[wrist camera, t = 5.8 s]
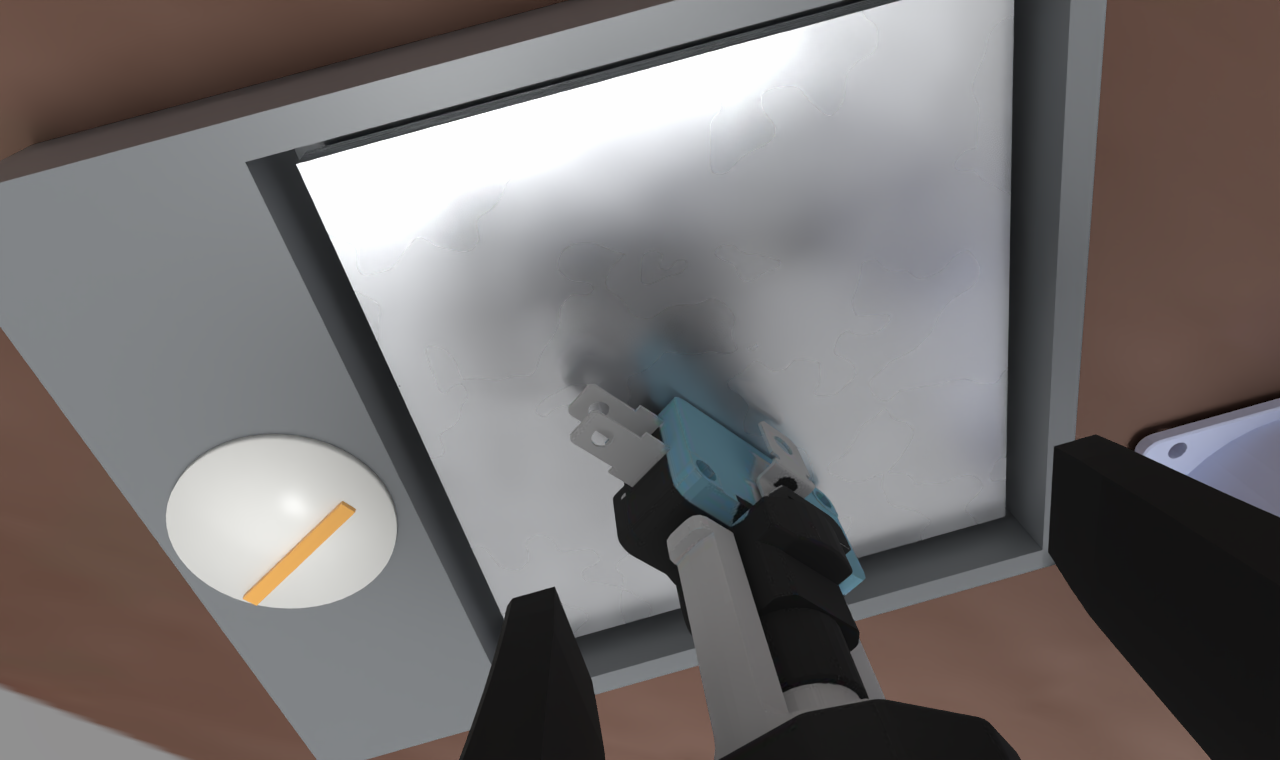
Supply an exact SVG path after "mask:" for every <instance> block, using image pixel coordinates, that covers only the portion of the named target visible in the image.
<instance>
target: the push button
mask: <svg viewBox="0 0 1280 760" xmlns="http://www.w3.org/2000/svg"><path fill="white" fill-rule="evenodd" d="M595 402H603V403H606V404H607V405H608V406H609V412H608V413H607V415H605V414H603V413H601V412H600V411H598V410H596V411H591V412H590V413H589V412H588V410H589V407H590V406H591V405H592V404H593V403H595ZM568 411H569V414H570V415H571V416H573V417H574V418H576V419H578V420H579V421H581V423H580V424H579V425H578V426H577V427H576V428H575V429H574V430H573V431H572V433H571V434H570V439H571V442H572V443H573V444H575V445H577V446H578V447H580V448H582V449H583V450H585V451H587V452H588V453H590V454H592V455H593V456H595V457H597V458H598V459H600V460H602V461H603V462H605V463H607V464H608V465H610V466H612V467H611V468H610V469H609V470H608V472H609V474H611V475H613V476H614V477H616V478H618V479H620V480H621V481H623V482H624V486H623V487H622V488H621V489H620V490H619V491H618V492H617V493H616V494H615V495H614V497H613V506H614V514H615V521H616V529H617V537H618V540H619V542H620V544H621V546H622V547H623V548H624V549H625V551H627V552H628V553H629V554H630V555H632V556H633V557H635V558H637V559H639V560H641V561H643V562H644V563H646V564H648V565H650V566H652V567H653V568H655V569H657V570H659V571H661V572H663V573H664V574H666V575H667V576H668V577H669V578H670V580H671V581H672V582H673V583H674V584H675V585H676V588H677V593H678V598H679V603H680V607H681V611H682V615H683V618H684V621H685V624H686V626H687V629H688V631H689V632H690V634H691V635H692V636H693V641H694V645H695V650H696V655H697V659H698V664H699V669H700V674H701V678H702V683H703V688H704V692H705V697H706V702H707V706H708V711H709V716H710V720H711V725H712V730H713V734H714V740H715V757H714V760H1021V759H1020V757H1019V756H1018V754H1017V752H1016V751H1015V750H1014V749H1013V748H1012V747H1011V746H1010V745H1009V743H1008V742H1007V741H1006V740H1005V739H1004V738H1003V737H1002V736H1001V735H1000V734H999V733H998V732H997V730H996V729H995V728H994V727H993V726H992V725H991V724H990V723H989V722H988V721H986V720H985V719H982V718H979V717H975V716H970V715H964V714H959V713H954V712H949V711H943V710H938V709H933V708H927V707H922V706H917V705H912V704H906V703H901V702H896V701H890V700H886V699H885V697H884V695H883V692H882V690H881V688H880V685H879V683H878V681H877V679H876V676H875V674H874V672H873V669H872V667H871V665H870V662H869V660H868V658H867V656H866V653H865V651H864V649H863V646H862V644H861V642H860V639H859V630H858V628H857V626H856V624H855V621H854V619H853V616H852V613H851V611H850V609H849V606H848V604H847V603H846V601H845V599H844V597H845V596H846V595H847V594H848V593H849V592H850V591H851V590H852V589H854V588H855V587H856V586H857V585H858V584H860V583H861V582H862V581H863V580H864V579H865V578H866V577H865V574H864V571H863V569H862V567H861V565H860V563H859V561H858V559H857V557H856V555H855V553H854V551H853V548H852V546H851V544H850V542H849V540H848V538H847V536H846V534H845V532H844V530H843V528H842V526H841V524H840V522H839V519H838V514H837V512H836V510H835V508H834V506H833V504H832V503H831V501H830V500H829V499H828V498H827V497H826V495H825V494H824V493H822V492H821V491H820V490H819V489H817V488H816V487H815V485H814V483H813V482H812V481H810V480H809V478H810V474H809V472H808V470H807V468H806V466H805V464H804V462H803V459H802V457H801V455H800V453H799V451H798V449H797V447H796V446H795V445H794V444H793V443H792V441H791V440H790V439H789V438H787V437H786V436H784V435H783V434H782V433H780V432H779V431H777V430H776V429H774V428H773V427H772V426H770V425H769V424H767V423H766V422H764V421H762V422H759V423H758V426H759V429H760V431H761V434H762V436H763V438H764V441H765V443H766V445H767V448H768V450H769V453H770V454H771V455H772V456H774V457H775V458H774V459H773V460H772V459H770V458H769V457H767V456H766V455H764V454H763V453H762V452H760V451H759V450H757V449H756V448H754V447H753V446H751V445H750V444H748V443H747V442H745V441H744V440H742V439H741V438H739V437H738V436H736V435H735V434H733V433H732V432H730V431H729V430H728V429H726V428H725V427H723V426H722V425H720V424H719V423H717V422H716V421H714V420H713V419H711V418H710V417H708V416H707V415H705V414H704V413H702V412H701V411H699V410H698V409H696V408H695V407H694V406H692V405H691V404H689V403H688V402H686V401H685V400H683V399H681V398H679V397H674V399H673V400H672V401H671V402H670V403H669V404H668V405H667V406H666V407H665V408H664V409H663V410H662V411H661V412H660V413H659V414H658V415H655V414H654V413H652V412H651V411H649V410H648V409H646V408H645V407H643V406H642V405H639V406H638V408H637V409H636V410H634V409H633V408H631V407H630V406H628V405H627V404H625V403H624V402H622V401H621V400H619V399H618V398H616V397H614V396H613V395H611V394H610V393H608V392H607V391H605V390H604V389H602V388H601V387H599V386H597V385H596V384H588V385H587V386H586V387H585V389H584V390H583V391H582V392H581V393H580V394H579V395H578V396H577V397H576V399H575V400H574V401H573V402H572V403H571V404H570V405H569V406H568ZM595 431H597V432H599V433H600V434H602V435H604V436H605V437H607V438H608V439H607V440H606V441H605V445H597V444H595V443H594V442H593V441H592V439H591V437H592V434H593V433H594V432H595ZM775 439H776V440H778V441H779V442H780V443H781V444H782V445H783V446H784V447H785V448H786V449H787V450H788V452H789V454H788V453H787V452H785V451H784V450H783V449H782V448H781V447H780V446H779V445H778V444H777V442H776V440H775Z"/></svg>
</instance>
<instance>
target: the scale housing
mask: <svg viewBox="0 0 1280 760" xmlns="http://www.w3.org/2000/svg"><path fill="white" fill-rule="evenodd" d="M860 1H864V0H568V1H564V2H561V3H557V4H553V5H550V6H546V7H542V8H538V9H535V10H531V11H527V12H524V13H520V14H516V15H512V16H509V17H505V18H501V19H498V20H494V21H490V22H486V23H483V24H479V25H475V26H472V27H468V28H464V29H460V30H457V31H453V32H449V33H446V34H442V35H438V36H434V37H431V38H427V39H423V40H420V41H416V42H412V43H408V44H405V45H401V46H397V47H394V48H390V49H386V50H382V51H379V52H375V53H371V54H368V55H364V56H360V57H356V58H353V59H349V60H345V61H342V62H338V63H334V64H330V65H327V66H323V67H319V68H316V69H312V70H308V71H304V72H301V73H297V74H293V75H290V76H286V77H282V78H278V79H275V80H271V81H267V82H264V83H260V84H256V85H252V86H249V87H245V88H241V89H238V90H234V91H230V92H226V93H223V94H219V95H215V96H212V97H208V98H204V99H200V100H197V101H193V102H189V103H186V104H182V105H178V106H174V107H171V108H167V109H163V110H160V111H156V112H152V113H148V114H145V115H141V116H137V117H134V118H130V119H126V120H122V121H119V122H115V123H111V124H108V125H104V126H100V127H96V128H93V129H89V130H85V131H82V132H78V133H74V134H71V135H67V136H63V137H59V138H56V139H52V140H48V141H45V142H41V143H37V144H33V145H31V146H29V147H27V148H25V149H23V150H21V151H19V152H17V153H15V154H13V155H11V156H9V157H7V158H5V159H3V160H1V161H0V327H1V328H2V330H3V331H4V332H5V334H6V335H7V336H8V338H9V339H10V340H11V342H12V343H13V345H14V346H15V347H16V349H17V350H18V351H19V353H20V354H21V355H22V357H23V358H24V360H25V361H26V362H27V364H28V365H29V366H30V368H31V369H32V371H33V372H34V373H35V375H36V376H37V377H38V379H39V380H40V381H41V383H42V384H43V386H44V387H45V388H46V390H47V391H48V392H49V394H50V395H51V397H52V398H53V399H54V401H55V402H56V403H57V405H58V406H59V407H60V409H61V410H62V412H63V413H64V414H65V416H66V417H67V418H68V420H69V421H70V423H71V424H72V425H73V427H74V428H75V429H76V431H77V432H78V433H79V435H80V436H81V438H82V439H83V440H84V442H85V443H86V444H87V446H88V447H89V448H90V450H91V451H92V453H93V454H94V455H95V457H96V458H97V459H98V461H99V462H100V464H101V465H102V466H103V468H104V469H105V470H106V472H107V473H108V474H109V476H110V477H111V479H112V480H113V481H114V483H115V484H116V485H117V487H118V488H119V490H120V491H121V492H122V494H123V495H124V496H125V498H126V499H127V500H128V502H129V503H130V505H131V506H132V507H133V509H134V510H135V511H136V513H137V514H138V516H139V517H140V518H141V520H142V521H143V522H144V524H145V525H146V526H147V528H148V529H149V531H150V532H151V533H152V535H153V536H154V537H155V539H156V540H157V541H158V543H159V544H160V546H161V547H162V548H163V550H164V551H165V552H166V554H167V555H168V557H169V558H170V559H171V561H172V562H173V563H174V565H175V566H176V567H177V569H178V570H179V572H180V573H181V574H182V576H183V577H184V578H185V580H186V581H187V583H188V584H189V585H190V587H191V588H192V589H193V591H194V592H195V593H196V595H197V596H198V598H199V599H200V600H201V602H202V603H203V604H204V606H205V607H206V609H207V610H208V611H209V613H210V614H211V615H212V617H213V618H214V619H215V621H216V622H217V624H218V625H219V626H220V628H221V629H222V630H223V632H224V633H225V634H226V636H227V637H228V639H229V640H230V641H231V643H232V644H233V645H234V647H235V648H236V650H237V651H238V652H239V654H240V655H241V656H242V658H243V659H244V660H245V662H246V663H247V665H248V666H249V667H250V669H251V670H252V671H253V673H254V674H255V676H256V677H257V678H258V680H259V681H260V682H261V684H262V685H263V686H264V688H265V689H266V691H267V692H268V693H269V695H270V696H271V697H272V699H273V700H274V701H275V703H276V704H277V706H278V707H279V708H280V710H281V711H282V712H283V714H284V715H285V717H286V718H287V719H288V721H289V722H290V723H291V725H292V726H293V727H294V729H295V730H296V732H297V733H298V734H299V736H300V737H301V738H302V740H303V741H304V743H305V744H306V745H307V747H308V748H309V749H310V751H311V752H312V753H313V755H314V756H315V758H316V759H317V760H366V759H369V758H373V757H377V756H380V755H384V754H387V753H391V752H394V751H398V750H401V749H405V748H408V747H412V746H415V745H419V744H422V743H426V742H430V741H433V740H437V739H440V738H444V737H447V736H451V735H454V734H458V733H461V732H465V731H468V730H470V728H471V726H472V723H473V720H474V717H475V714H476V711H477V708H478V705H479V702H480V699H481V697H482V694H483V691H484V688H485V684H486V681H487V678H488V675H489V671H490V668H491V665H492V661H493V658H494V655H495V651H496V648H497V644H498V640H499V636H500V633H501V629H502V625H503V621H504V618H503V616H502V614H501V612H500V609H499V607H498V605H497V603H496V601H495V599H494V596H493V594H492V592H491V590H490V588H489V585H488V583H487V581H486V579H485V577H484V574H483V572H482V570H481V568H480V566H479V564H478V561H477V559H476V557H475V555H474V553H473V550H472V548H471V546H470V544H469V542H468V539H467V537H466V535H465V533H464V531H463V528H462V526H461V524H460V522H459V520H458V518H457V515H456V513H455V511H454V509H453V507H452V504H451V502H450V500H449V498H448V496H447V493H446V491H445V489H444V487H443V485H442V482H441V480H440V478H439V476H438V474H437V472H436V469H435V467H434V465H433V463H432V461H431V458H430V456H429V454H428V452H427V450H426V447H425V445H424V443H423V441H422V439H421V436H420V434H419V432H418V430H417V428H416V426H415V423H414V421H413V419H412V417H411V415H410V412H409V410H408V408H407V406H406V404H405V401H404V399H403V397H402V395H401V393H400V390H399V388H398V386H397V384H396V382H395V380H394V377H393V375H392V373H391V371H390V369H389V366H388V364H387V362H386V360H385V358H384V355H383V353H382V351H381V349H380V347H379V344H378V342H377V340H376V338H375V336H374V334H373V331H372V329H371V327H370V325H369V323H368V320H367V318H366V316H365V314H364V312H363V309H362V307H361V305H360V303H359V301H358V298H357V296H356V294H355V292H354V290H353V288H352V285H351V283H350V281H349V279H348V277H347V274H346V272H345V270H344V268H343V266H342V263H341V261H340V259H339V257H338V255H337V253H336V250H335V248H334V246H333V244H332V242H331V239H330V237H329V235H328V233H327V231H326V228H325V226H324V224H323V222H322V220H321V217H320V215H319V213H318V211H317V209H316V207H315V204H314V202H313V200H312V198H311V196H310V193H309V191H308V189H307V187H306V185H305V182H304V180H303V178H302V176H301V174H300V171H299V169H298V167H297V165H296V164H297V163H298V161H299V160H300V159H301V158H302V156H303V155H304V154H305V152H306V151H310V150H313V149H317V148H321V147H324V146H328V145H332V144H336V143H339V142H343V141H347V140H350V139H354V138H358V137H361V136H365V135H369V134H372V133H376V132H380V131H384V130H387V129H391V128H395V127H398V126H402V125H406V124H409V123H413V122H417V121H420V120H424V119H428V118H432V117H435V116H439V115H443V114H446V113H450V112H454V111H457V110H461V109H465V108H468V107H472V106H476V105H480V104H483V103H487V102H491V101H494V100H498V99H502V98H505V97H509V96H513V95H516V94H520V93H524V92H528V91H531V90H535V89H539V88H542V87H546V86H550V85H553V84H557V83H561V82H564V81H568V80H572V79H576V78H579V77H583V76H587V75H590V74H594V73H598V72H601V71H605V70H609V69H612V68H616V67H620V66H624V65H627V64H631V63H635V62H638V61H642V60H646V59H649V58H653V57H657V56H660V55H664V54H668V53H672V52H675V51H679V50H683V49H686V48H690V47H694V46H697V45H701V44H705V43H708V42H712V41H716V40H720V39H723V38H727V37H731V36H734V35H738V34H742V33H745V32H749V31H753V30H756V29H760V28H764V27H768V26H771V25H775V24H779V23H782V22H786V21H790V20H793V19H797V18H801V17H804V16H808V15H812V14H816V13H819V12H823V11H827V10H830V9H834V8H838V7H841V6H845V5H849V4H852V3H856V2H860ZM1106 4H1107V0H1014V33H1013V91H1012V150H1011V209H1010V267H1009V326H1008V384H1007V443H1006V501H1005V517H1002V518H998V519H994V520H991V521H987V522H984V523H980V524H977V525H973V526H970V527H966V528H963V529H959V530H955V531H952V532H948V533H945V534H941V535H938V536H934V537H931V538H927V539H924V540H920V541H916V542H913V543H909V544H906V545H902V546H899V547H895V548H892V549H888V550H885V551H881V552H877V553H874V554H870V555H867V556H863V557H860V558H857V559H858V561H859V563H860V565H861V567H862V569H863V571H864V574H865V577H866V578H865V579H864V580H863V581H862V582H861V583H860V584H858V585H857V586H856V587H855V588H854V589H852V590H851V591H850V592H849V593H848V594H847V595H846V596H845V597H844V599H845V601H846V603H847V604H848V606H849V609H850V611H851V613H852V616H853V619H854V621H857V620H860V619H864V618H867V617H871V616H875V615H878V614H882V613H885V612H889V611H892V610H896V609H899V608H903V607H906V606H910V605H913V604H917V603H920V602H924V601H928V600H931V599H935V598H938V597H942V596H945V595H949V594H952V593H956V592H959V591H963V590H966V589H970V588H973V587H977V586H981V585H984V584H988V583H991V582H995V581H998V580H1002V579H1005V578H1009V577H1012V576H1016V575H1019V574H1023V573H1026V572H1030V571H1033V570H1037V569H1041V568H1044V567H1048V566H1051V565H1055V562H1054V561H1053V559H1052V558H1051V556H1050V554H1049V553H1048V543H1049V525H1050V507H1051V489H1052V471H1053V453H1054V446H1057V445H1060V444H1064V443H1067V442H1071V441H1074V440H1075V432H1076V418H1077V404H1078V390H1079V376H1080V363H1081V349H1082V335H1083V321H1084V307H1085V294H1086V280H1087V266H1088V252H1089V238H1090V225H1091V211H1092V197H1093V183H1094V169H1095V156H1096V142H1097V128H1098V114H1099V100H1100V87H1101V73H1102V59H1103V45H1104V31H1105V18H1106ZM575 639H576V641H577V644H578V646H579V649H580V651H581V654H582V656H583V659H584V661H585V664H586V666H587V669H588V672H589V674H590V677H591V679H592V682H593V688H594V694H595V695H596V694H599V693H603V692H606V691H610V690H613V689H617V688H620V687H624V686H627V685H631V684H634V683H638V682H641V681H645V680H648V679H652V678H656V677H659V676H663V675H666V674H670V673H673V672H677V671H680V670H684V669H687V668H691V667H694V666H698V665H699V664H698V659H697V655H696V650H695V645H694V641H693V636H692V635H691V634H690V632H689V631H688V629H687V626H686V624H685V621H684V618H683V615H682V611H681V608H679V609H675V610H672V611H668V612H665V613H661V614H657V615H654V616H650V617H647V618H643V619H640V620H636V621H633V622H629V623H626V624H622V625H618V626H615V627H611V628H608V629H604V630H601V631H597V632H594V633H590V634H587V635H583V636H579V637H576V638H575Z"/></svg>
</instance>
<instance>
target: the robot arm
mask: <svg viewBox="0 0 1280 760" xmlns="http://www.w3.org/2000/svg"><path fill="white" fill-rule="evenodd" d="M1048 553H1049V554H1050V556H1051V558H1052V559H1053V561H1054V562H1055V564H1056V566H1057V567H1058V569H1059V570H1060V572H1061V573H1062V575H1063V577H1064V578H1065V580H1066V581H1067V583H1068V584H1069V586H1070V588H1071V589H1072V591H1073V592H1074V593H1075V595H1076V596H1077V598H1078V599H1079V601H1080V602H1081V604H1082V605H1083V607H1084V608H1085V610H1086V611H1087V613H1088V614H1089V615H1090V617H1091V618H1092V619H1093V620H1094V622H1095V623H1096V624H1097V625H1098V626H1099V628H1100V629H1101V630H1102V631H1103V632H1104V634H1105V635H1106V636H1107V637H1108V638H1109V640H1110V641H1111V642H1112V643H1113V644H1114V646H1115V647H1116V648H1117V649H1118V650H1119V652H1120V653H1121V654H1122V655H1123V656H1124V657H1125V659H1126V660H1127V661H1128V662H1129V663H1130V665H1131V666H1132V667H1133V668H1134V669H1135V670H1136V672H1137V673H1138V674H1139V675H1140V676H1141V677H1142V679H1143V680H1144V681H1145V682H1146V683H1147V684H1148V686H1149V687H1150V688H1151V689H1152V690H1153V691H1154V693H1155V694H1156V695H1157V696H1158V697H1159V698H1160V700H1161V701H1162V702H1163V703H1164V704H1165V705H1166V707H1167V708H1168V709H1169V710H1170V711H1171V713H1172V714H1173V715H1174V716H1175V717H1176V718H1177V720H1178V721H1179V722H1180V723H1181V724H1182V725H1183V727H1184V728H1185V729H1186V730H1187V731H1188V732H1189V734H1190V735H1191V736H1192V737H1193V738H1194V739H1195V741H1196V742H1197V743H1198V744H1199V745H1200V746H1201V748H1202V749H1203V750H1204V751H1205V752H1206V753H1207V755H1208V756H1209V757H1210V758H1211V760H1280V398H1278V399H1275V400H1271V401H1268V402H1264V403H1261V404H1257V405H1253V406H1250V407H1246V408H1243V409H1239V410H1236V411H1232V412H1229V413H1225V414H1221V415H1218V416H1214V417H1211V418H1207V419H1204V420H1200V421H1197V422H1193V423H1189V424H1186V425H1182V426H1179V427H1175V428H1172V429H1168V430H1165V431H1161V432H1157V433H1154V434H1151V435H1149V436H1146V437H1145V438H1143V439H1142V440H1141V441H1140V442H1139V443H1138V444H1137V446H1136V448H1135V451H1133V450H1130V449H1128V448H1126V447H1124V446H1121V445H1119V444H1117V443H1115V442H1112V441H1110V440H1108V439H1105V438H1103V437H1101V436H1098V435H1092V436H1089V437H1085V438H1082V439H1078V440H1074V441H1071V442H1067V443H1064V444H1060V445H1057V446H1054V453H1053V471H1052V489H1051V507H1050V525H1049V543H1048ZM459 760H605V752H604V746H603V740H602V734H601V728H600V722H599V716H598V711H597V705H596V699H595V694H594V688H593V682H592V679H591V677H590V674H589V672H588V669H587V666H586V664H585V661H584V659H583V656H582V654H581V651H580V649H579V646H578V644H577V641H576V639H575V636H574V634H573V631H572V629H571V626H570V624H569V621H568V619H567V616H566V613H565V611H564V608H563V606H562V603H561V601H560V598H559V596H558V593H557V591H556V588H555V586H554V587H551V588H547V589H544V590H540V591H537V592H533V593H530V594H526V595H522V596H519V597H515V598H512V600H511V601H510V603H509V604H508V605H507V608H506V612H505V617H504V621H503V625H502V629H501V633H500V636H499V640H498V644H497V648H496V651H495V655H494V658H493V661H492V665H491V668H490V671H489V675H488V678H487V681H486V684H485V688H484V691H483V694H482V697H481V699H480V702H479V705H478V708H477V711H476V714H475V717H474V720H473V723H472V726H471V728H470V731H469V734H468V737H467V740H466V743H465V746H464V748H463V751H462V754H461V756H460V759H459Z"/></svg>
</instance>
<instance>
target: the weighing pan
mask: <svg viewBox="0 0 1280 760" xmlns="http://www.w3.org/2000/svg"><path fill="white" fill-rule="evenodd" d="M1013 33H1014V0H864V1H860V2H856V3H852V4H849V5H845V6H841V7H838V8H834V9H830V10H827V11H823V12H819V13H816V14H812V15H808V16H804V17H801V18H797V19H793V20H790V21H786V22H782V23H779V24H775V25H771V26H768V27H764V28H760V29H756V30H753V31H749V32H745V33H742V34H738V35H734V36H731V37H727V38H723V39H720V40H716V41H712V42H708V43H705V44H701V45H697V46H694V47H690V48H686V49H683V50H679V51H675V52H672V53H668V54H664V55H660V56H657V57H653V58H649V59H646V60H642V61H638V62H635V63H631V64H627V65H624V66H620V67H616V68H612V69H609V70H605V71H601V72H598V73H594V74H590V75H587V76H583V77H579V78H576V79H572V80H568V81H564V82H561V83H557V84H553V85H550V86H546V87H542V88H539V89H535V90H531V91H528V92H524V93H520V94H516V95H513V96H509V97H505V98H502V99H498V100H494V101H491V102H487V103H483V104H480V105H476V106H472V107H468V108H465V109H461V110H457V111H454V112H450V113H446V114H443V115H439V116H435V117H432V118H428V119H424V120H420V121H417V122H413V123H409V124H406V125H402V126H398V127H395V128H391V129H387V130H384V131H380V132H376V133H372V134H369V135H365V136H361V137H358V138H354V139H350V140H347V141H343V142H339V143H336V144H332V145H328V146H324V147H321V148H317V149H313V150H310V151H306V152H305V154H304V155H303V156H302V158H301V159H300V160H299V161H298V163H297V164H296V165H297V167H298V169H299V171H300V174H301V176H302V178H303V180H304V182H305V185H306V187H307V189H308V191H309V193H310V196H311V198H312V200H313V202H314V204H315V207H316V209H317V211H318V213H319V215H320V217H321V220H322V222H323V224H324V226H325V228H326V231H327V233H328V235H329V237H330V239H331V242H332V244H333V246H334V248H335V250H336V253H337V255H338V257H339V259H340V261H341V263H342V266H343V268H344V270H345V272H346V274H347V277H348V279H349V281H350V283H351V285H352V288H353V290H354V292H355V294H356V296H357V298H358V301H359V303H360V305H361V307H362V309H363V312H364V314H365V316H366V318H367V320H368V323H369V325H370V327H371V329H372V331H373V334H374V336H375V338H376V340H377V342H378V344H379V347H380V349H381V351H382V353H383V355H384V358H385V360H386V362H387V364H388V366H389V369H390V371H391V373H392V375H393V377H394V380H395V382H396V384H397V386H398V388H399V390H400V393H401V395H402V397H403V399H404V401H405V404H406V406H407V408H408V410H409V412H410V415H411V417H412V419H413V421H414V423H415V426H416V428H417V430H418V432H419V434H420V436H421V439H422V441H423V443H424V445H425V447H426V450H427V452H428V454H429V456H430V458H431V461H432V463H433V465H434V467H435V469H436V472H437V474H438V476H439V478H440V480H441V482H442V485H443V487H444V489H445V491H446V493H447V496H448V498H449V500H450V502H451V504H452V507H453V509H454V511H455V513H456V515H457V518H458V520H459V522H460V524H461V526H462V528H463V531H464V533H465V535H466V537H467V539H468V542H469V544H470V546H471V548H472V550H473V553H474V555H475V557H476V559H477V561H478V564H479V566H480V568H481V570H482V572H483V574H484V577H485V579H486V581H487V583H488V585H489V588H490V590H491V592H492V594H493V596H494V599H495V601H496V603H497V605H498V607H499V609H500V612H501V614H502V616H503V618H504V617H505V612H506V608H507V605H508V604H509V603H510V601H511V600H512V598H515V597H519V596H522V595H526V594H530V593H533V592H537V591H540V590H544V589H547V588H551V587H554V586H555V588H556V591H557V593H558V596H559V598H560V601H561V603H562V606H563V608H564V611H565V613H566V616H567V619H568V621H569V624H570V626H571V629H572V631H573V634H574V636H575V638H576V637H579V636H583V635H587V634H590V633H594V632H597V631H601V630H604V629H608V628H611V627H615V626H618V625H622V624H626V623H629V622H633V621H636V620H640V619H643V618H647V617H650V616H654V615H657V614H661V613H665V612H668V611H672V610H675V609H679V608H681V607H680V603H679V598H678V593H677V588H676V585H675V584H674V583H673V582H672V581H671V580H670V578H669V577H668V576H667V575H666V574H664V573H663V572H661V571H659V570H657V569H655V568H653V567H652V566H650V565H648V564H646V563H644V562H643V561H641V560H639V559H637V558H635V557H633V556H632V555H630V554H629V553H628V552H627V551H625V549H624V548H623V547H622V546H621V544H620V542H619V540H618V537H617V529H616V521H615V514H614V506H613V497H614V495H615V494H616V493H617V492H618V491H619V490H620V489H621V488H622V487H623V486H624V482H623V481H621V480H620V479H618V478H616V477H614V476H613V475H611V474H609V472H608V470H609V469H610V468H611V467H612V466H610V465H608V464H607V463H605V462H603V461H602V460H600V459H598V458H597V457H595V456H593V455H592V454H590V453H588V452H587V451H585V450H583V449H582V448H580V447H578V446H577V445H575V444H573V443H572V442H571V439H570V434H571V433H572V431H573V430H574V429H575V428H576V427H577V426H578V425H579V424H580V423H581V421H579V420H578V419H576V418H574V417H573V416H571V415H570V414H569V411H568V406H569V405H570V404H571V403H572V402H573V401H574V400H575V399H576V397H577V396H578V395H579V394H580V393H581V392H582V391H583V390H584V389H585V387H586V386H587V385H588V384H596V385H597V386H599V387H601V388H602V389H604V390H605V391H607V392H608V393H610V394H611V395H613V396H614V397H616V398H618V399H619V400H621V401H622V402H624V403H625V404H627V405H628V406H630V407H631V408H633V409H634V410H636V409H637V408H638V406H639V405H642V406H643V407H645V408H646V409H648V410H649V411H651V412H652V413H654V414H655V415H658V414H659V413H660V412H661V411H662V410H663V409H664V408H665V407H666V406H667V405H668V404H669V403H670V402H671V401H672V400H673V399H674V397H679V398H681V399H683V400H685V401H686V402H688V403H689V404H691V405H692V406H694V407H695V408H696V409H698V410H699V411H701V412H702V413H704V414H705V415H707V416H708V417H710V418H711V419H713V420H714V421H716V422H717V423H719V424H720V425H722V426H723V427H725V428H726V429H728V430H729V431H730V432H732V433H733V434H735V435H736V436H738V437H739V438H741V439H742V440H744V441H745V442H747V443H748V444H750V445H751V446H753V447H754V448H756V449H757V450H759V451H760V452H762V453H763V454H764V455H766V456H767V457H769V458H770V459H772V460H773V459H774V458H775V457H774V456H772V455H771V454H770V453H769V450H768V448H767V445H766V443H765V441H764V438H763V436H762V434H761V431H760V429H759V426H758V423H759V422H762V421H764V422H766V423H767V424H769V425H770V426H772V427H773V428H774V429H776V430H777V431H779V432H780V433H782V434H783V435H784V436H786V437H787V438H789V439H790V440H791V441H792V443H793V444H794V445H795V446H796V447H797V449H798V451H799V453H800V455H801V457H802V459H803V462H804V464H805V466H806V468H807V470H808V472H809V474H810V478H809V480H810V481H812V482H813V483H814V485H815V487H816V488H817V489H819V490H820V491H821V492H822V493H824V494H825V495H826V497H827V498H828V499H829V500H830V501H831V503H832V504H833V506H834V508H835V510H836V512H837V514H838V519H839V522H840V524H841V526H842V528H843V530H844V532H845V534H846V536H847V538H848V540H849V542H850V544H851V546H852V548H853V551H854V553H855V555H856V557H857V558H860V557H863V556H867V555H870V554H874V553H877V552H881V551H885V550H888V549H892V548H895V547H899V546H902V545H906V544H909V543H913V542H916V541H920V540H924V539H927V538H931V537H934V536H938V535H941V534H945V533H948V532H952V531H955V530H959V529H963V528H966V527H970V526H973V525H977V524H980V523H984V522H987V521H991V520H994V519H998V518H1002V517H1005V501H1006V443H1007V384H1008V326H1009V267H1010V209H1011V150H1012V91H1013ZM596 410H598V411H600V412H601V413H603V414H605V415H607V413H608V412H609V406H608V405H607V404H606V403H603V402H595V403H593V404H592V405H591V406H590V407H589V410H588V412H589V413H590V412H591V411H596ZM591 439H592V441H593V442H594V443H595V444H597V445H605V441H606V440H607V439H608V438H607V437H605V436H604V435H602V434H600V433H599V432H597V431H595V432H594V433H593V434H592V437H591ZM775 440H776V439H775ZM776 442H777V444H778V445H779V446H780V447H781V448H782V449H783V450H784V451H785V452H787V453H788V454H789V452H788V450H787V449H786V448H785V447H784V446H783V445H782V444H781V443H780V442H779V441H778V440H776Z"/></svg>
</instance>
